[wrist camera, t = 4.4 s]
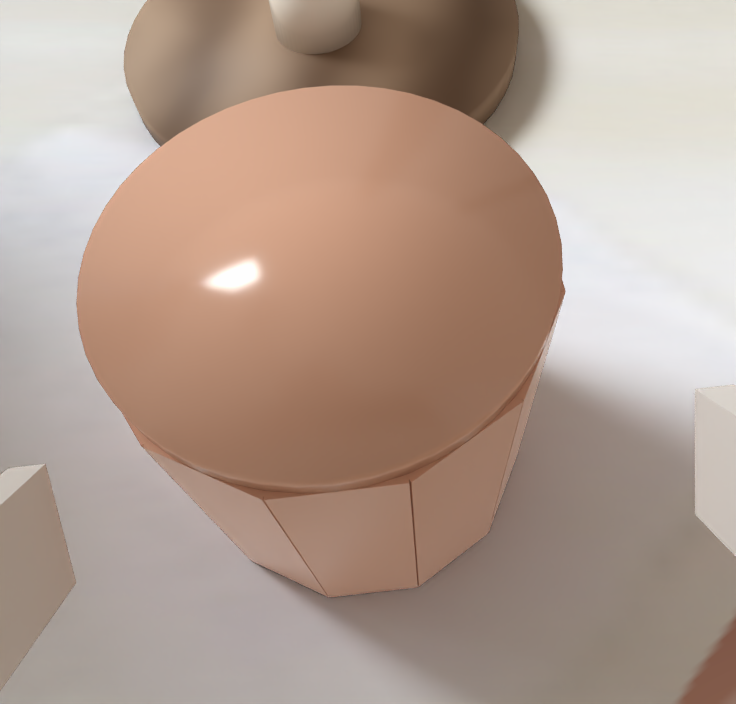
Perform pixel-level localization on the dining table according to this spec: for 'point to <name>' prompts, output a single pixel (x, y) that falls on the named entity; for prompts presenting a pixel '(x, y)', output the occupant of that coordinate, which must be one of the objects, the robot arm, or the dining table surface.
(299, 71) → the walnut board
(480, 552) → the dining table surface
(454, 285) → the tan domed cylinder
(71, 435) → the dining table surface
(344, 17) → the ivory rounded cylinder
